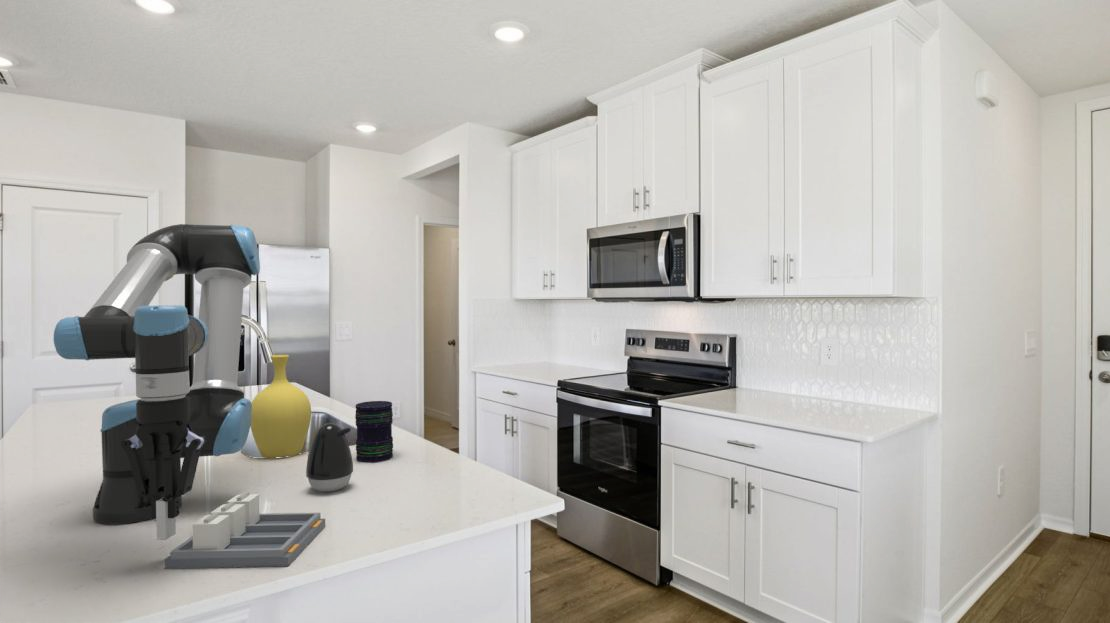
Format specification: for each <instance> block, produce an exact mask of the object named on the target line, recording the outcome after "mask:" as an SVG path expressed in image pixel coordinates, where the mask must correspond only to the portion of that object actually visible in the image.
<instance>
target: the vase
mask: <svg viewBox="0 0 1110 623" xmlns="http://www.w3.org/2000/svg"><path fill="white" fill-rule="evenodd" d="M269 358H270V360H271V362H272V364H273V368H274V371H273V372H274V375H273V380H272V381H271V383H270V384H269V385H268V386H266V387H265V388H263V389H262V390H261V391H259V392H258V393H257V394H256V395H255V397H254V398H253V399H252V401H251V404H252V412H251V414H252V418H251V425H250V430H251V434H252V437H253V439H254V443H255V444H256V445H255V446H256V447H257V449H258V452H259V454H260V456H261V457H262V458H263V459H264V458H265V459H272V458H273V459H277V458H276V457H285V458H287V457H286V456H291V457H294V456H297V455H300V454H301V453H302V450H303V448H304V446H305V442H306V438H307V436H308V433H309V430H310V425H311V420H312V407H311V402H310V399H309V398H308V396H307V395H306V393H305V392H304V391H303V390H302V389H300V388H299V387H297V386H295V385H293V383H291V382H290V381H289V380H288V379H287V373H286V369H287V368H286V367H287V363H288V360H289V358H290V355H289V354H273V355H270V356H269ZM293 455H294V456H293Z"/></svg>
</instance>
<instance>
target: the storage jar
mask: <svg viewBox="0 0 1110 623" xmlns="http://www.w3.org/2000/svg"><path fill="white" fill-rule="evenodd" d="M354 415H355V416H354V417H355V427H356V439H355V444H356V445H355V451H356V461H357V462H358V463H365V464H375V463H382V462H387V461H390V460H391V459H393V458H394V454H393V452H394V450H393V448H394V443H393V442H394V439H393V438H394V437H393V433H392V428H393V427H392V424H393V421H394V420H393V402H392V401H387V400H371V401H363V402H359V403H356V404H355V414H354Z"/></svg>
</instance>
